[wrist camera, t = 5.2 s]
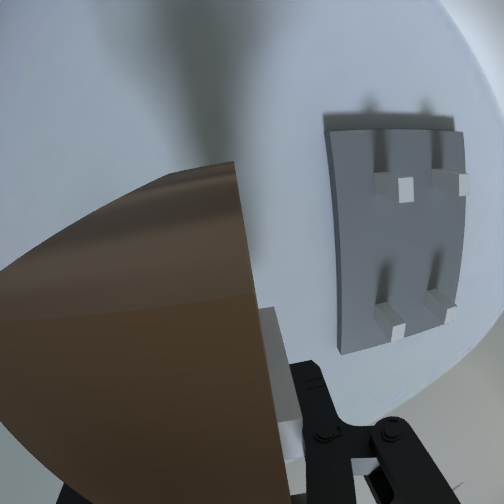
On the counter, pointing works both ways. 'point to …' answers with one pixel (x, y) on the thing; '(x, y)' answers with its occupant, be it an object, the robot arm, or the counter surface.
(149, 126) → the counter surface
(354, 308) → the board
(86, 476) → the brown wooden board
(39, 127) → the counter surface
